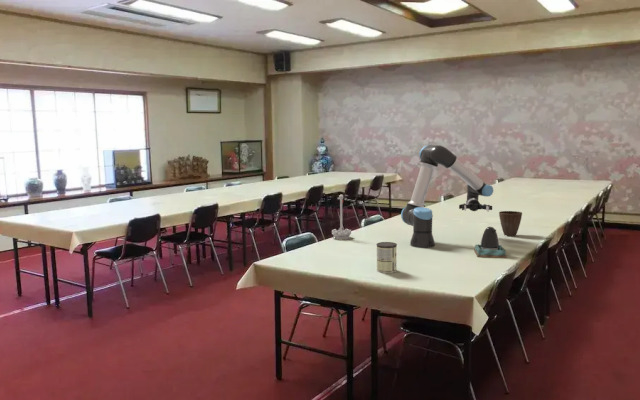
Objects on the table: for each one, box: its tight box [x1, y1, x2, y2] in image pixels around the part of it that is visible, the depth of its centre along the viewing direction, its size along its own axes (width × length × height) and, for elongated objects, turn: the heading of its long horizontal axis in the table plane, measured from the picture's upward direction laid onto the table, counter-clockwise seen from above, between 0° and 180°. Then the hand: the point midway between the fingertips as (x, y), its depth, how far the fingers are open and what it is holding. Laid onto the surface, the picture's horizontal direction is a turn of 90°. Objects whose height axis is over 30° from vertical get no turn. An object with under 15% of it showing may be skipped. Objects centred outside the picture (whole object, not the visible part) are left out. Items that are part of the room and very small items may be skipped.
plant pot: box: [498, 210, 523, 237], centre depth 365 cm, size 15×15×16 cm
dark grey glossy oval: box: [480, 226, 500, 250], centre depth 309 cm, size 10×10×15 cm
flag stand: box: [331, 194, 352, 240], centre depth 362 cm, size 13×13×30 cm
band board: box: [473, 244, 508, 259], centre depth 310 cm, size 16×16×4 cm
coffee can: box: [376, 241, 398, 274], centre depth 275 cm, size 10×10×14 cm
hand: (476, 208), depth 330 cm, fingers open, 13 cm apart
